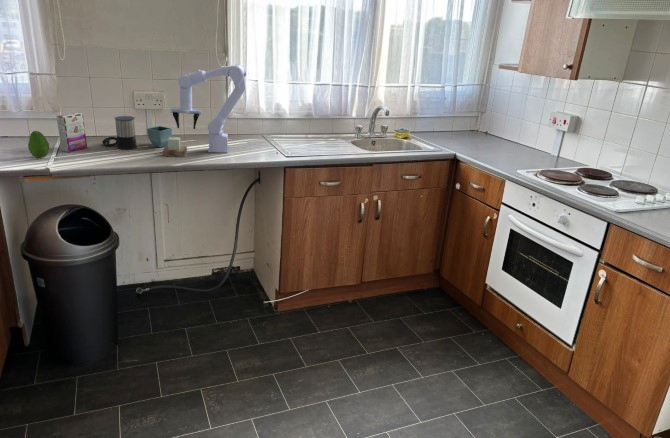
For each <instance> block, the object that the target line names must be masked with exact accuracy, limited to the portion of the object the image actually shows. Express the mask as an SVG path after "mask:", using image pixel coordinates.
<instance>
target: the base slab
mask: <svg viewBox="0 0 670 438" xmlns="http://www.w3.org/2000/svg"><path fill="white" fill-rule="evenodd" d="M187 152H188V147H187V146H183V145H181V148H180V150H168V146H164V147H163V149H162V157H181V158H182V157H186V155H187Z"/></svg>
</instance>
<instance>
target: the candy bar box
mask: <svg viewBox="0 0 670 438" xmlns="http://www.w3.org/2000/svg"><path fill="white" fill-rule="evenodd" d="M56 122H57V127H58V128H57V129H58V135H59V141H60V142H59V143H60V148H61V151H62V152H66V153H72V152H76V151H80V150H83V149H87V148H88V142H87V135H86V128H85V127H86V126H85V121H84V113H81V112H71V113H66V114H62V115H57V116H56Z"/></svg>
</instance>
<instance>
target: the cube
mask: <svg viewBox="0 0 670 438" xmlns="http://www.w3.org/2000/svg"><path fill="white" fill-rule="evenodd" d="M181 142H182V141H181V137H178V136H177V137H175V136H171V137H169V139H168V150H180V148H181V146H182V145H181V144H182V143H181Z"/></svg>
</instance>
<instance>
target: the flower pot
mask: <svg viewBox="0 0 670 438" xmlns="http://www.w3.org/2000/svg"><path fill="white" fill-rule="evenodd" d="M146 131H147V135H148V139H149V142H150V143H151V144H152V146H153V147H157V148H165V146H168V139H169V137H173V136H172V134H173V129H172V128H171V127H167V126H161V125H159V126H153V127H147V128H146Z"/></svg>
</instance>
